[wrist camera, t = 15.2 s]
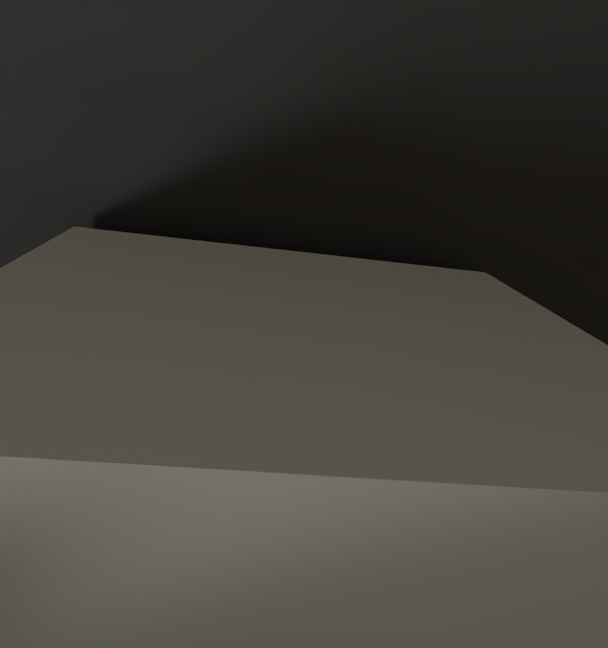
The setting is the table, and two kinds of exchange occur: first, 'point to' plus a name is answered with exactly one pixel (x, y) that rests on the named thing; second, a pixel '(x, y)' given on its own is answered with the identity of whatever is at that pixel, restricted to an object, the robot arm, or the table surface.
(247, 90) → the table surface
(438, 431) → the pale grey carton
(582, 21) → the table surface
